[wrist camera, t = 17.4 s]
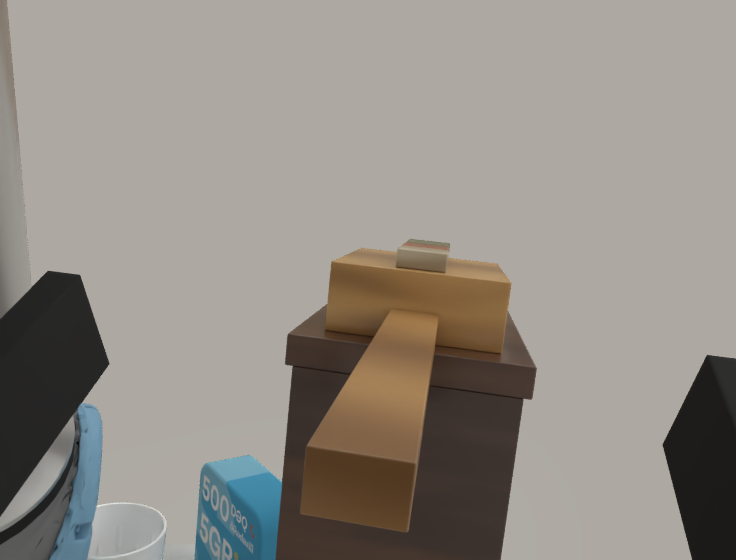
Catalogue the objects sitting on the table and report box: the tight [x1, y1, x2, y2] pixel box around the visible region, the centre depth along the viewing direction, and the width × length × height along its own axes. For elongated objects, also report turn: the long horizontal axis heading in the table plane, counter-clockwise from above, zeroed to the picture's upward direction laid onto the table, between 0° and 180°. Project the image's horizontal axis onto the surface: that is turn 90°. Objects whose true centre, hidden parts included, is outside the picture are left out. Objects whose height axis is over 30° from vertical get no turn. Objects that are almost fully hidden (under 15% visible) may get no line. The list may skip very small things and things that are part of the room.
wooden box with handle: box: [300, 239, 511, 532], centre depth 27 cm, size 28×9×5 cm, turn 172°
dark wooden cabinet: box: [275, 304, 537, 560], centre depth 41 cm, size 19×12×30 cm, turn 172°
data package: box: [195, 455, 282, 560], centre depth 53 cm, size 12×4×12 cm, turn 37°
